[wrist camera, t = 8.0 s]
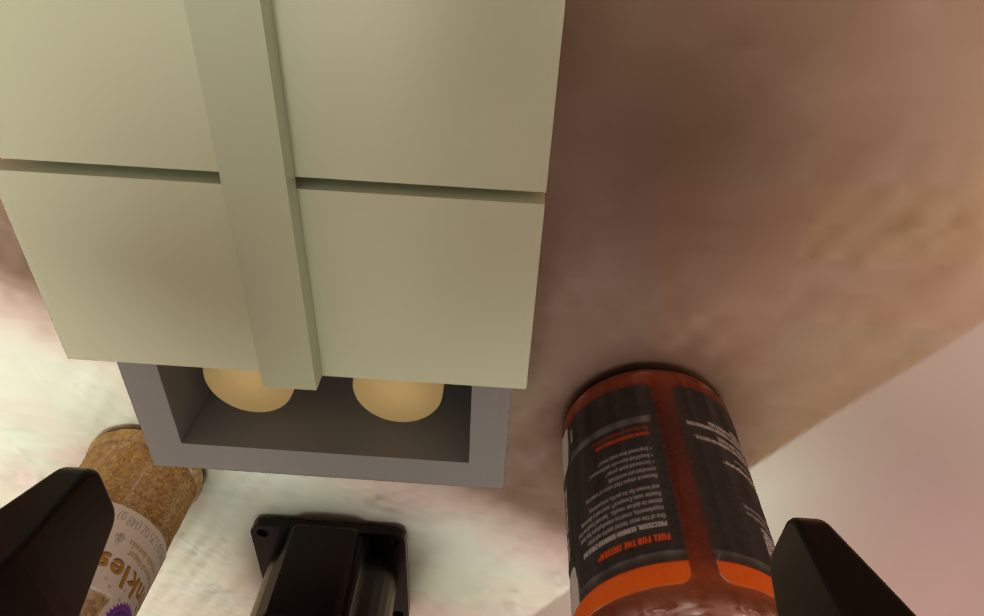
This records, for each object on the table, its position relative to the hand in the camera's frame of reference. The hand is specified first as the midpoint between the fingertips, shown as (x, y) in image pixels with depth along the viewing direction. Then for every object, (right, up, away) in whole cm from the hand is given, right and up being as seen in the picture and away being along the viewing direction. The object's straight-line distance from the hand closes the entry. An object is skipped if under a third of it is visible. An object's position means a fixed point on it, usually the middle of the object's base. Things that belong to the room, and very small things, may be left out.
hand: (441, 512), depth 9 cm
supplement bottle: (+6, -1, +16) cm, 17 cm away
